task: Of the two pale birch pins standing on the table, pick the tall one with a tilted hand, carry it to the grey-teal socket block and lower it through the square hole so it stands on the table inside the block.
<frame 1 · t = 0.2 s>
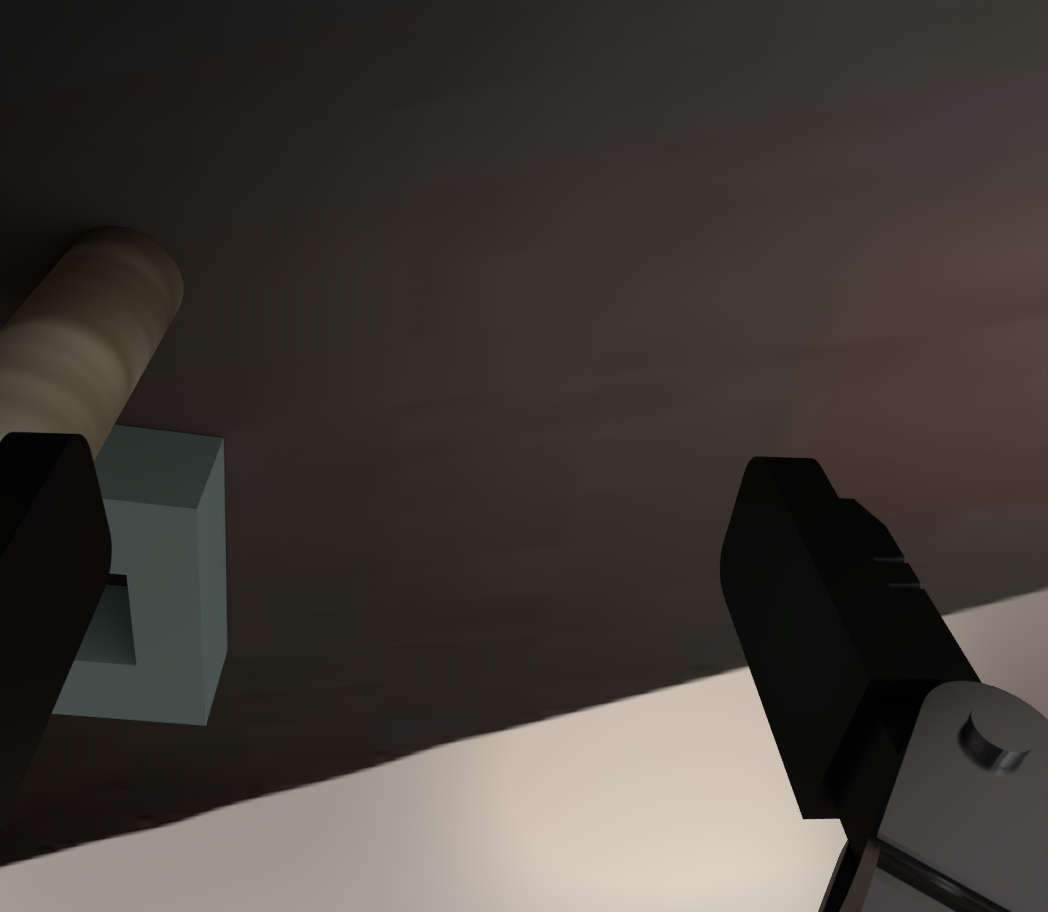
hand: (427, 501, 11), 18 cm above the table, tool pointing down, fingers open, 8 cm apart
tall pin: (126, 279, 29), on the table
socket block: (97, 540, 36), on the table
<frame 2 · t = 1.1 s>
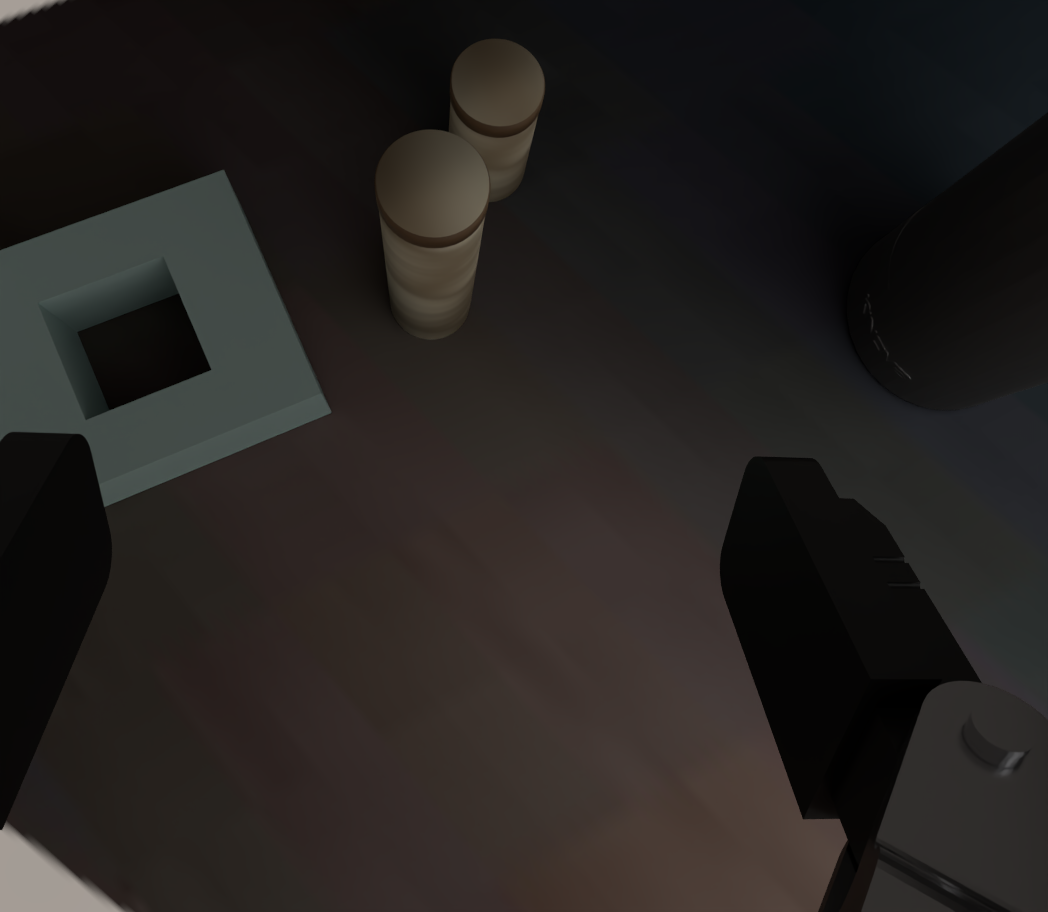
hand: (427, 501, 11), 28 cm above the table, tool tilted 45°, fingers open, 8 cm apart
short pin: (485, 165, 41), on the table
tall pin: (430, 300, 40), on the table
socket block: (155, 362, 39), on the table
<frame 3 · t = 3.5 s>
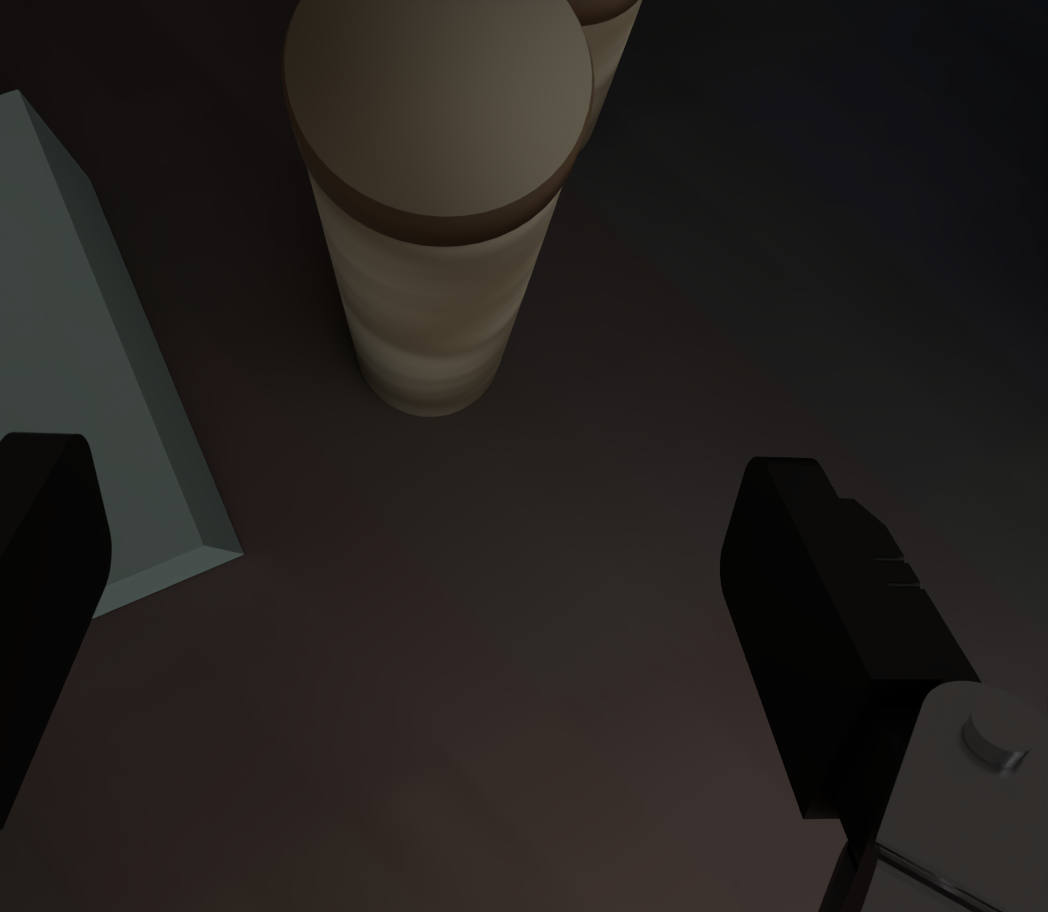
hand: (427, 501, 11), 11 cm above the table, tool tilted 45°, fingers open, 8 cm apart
short pin: (529, 106, 24), on the table
tall pin: (429, 346, 22), on the table
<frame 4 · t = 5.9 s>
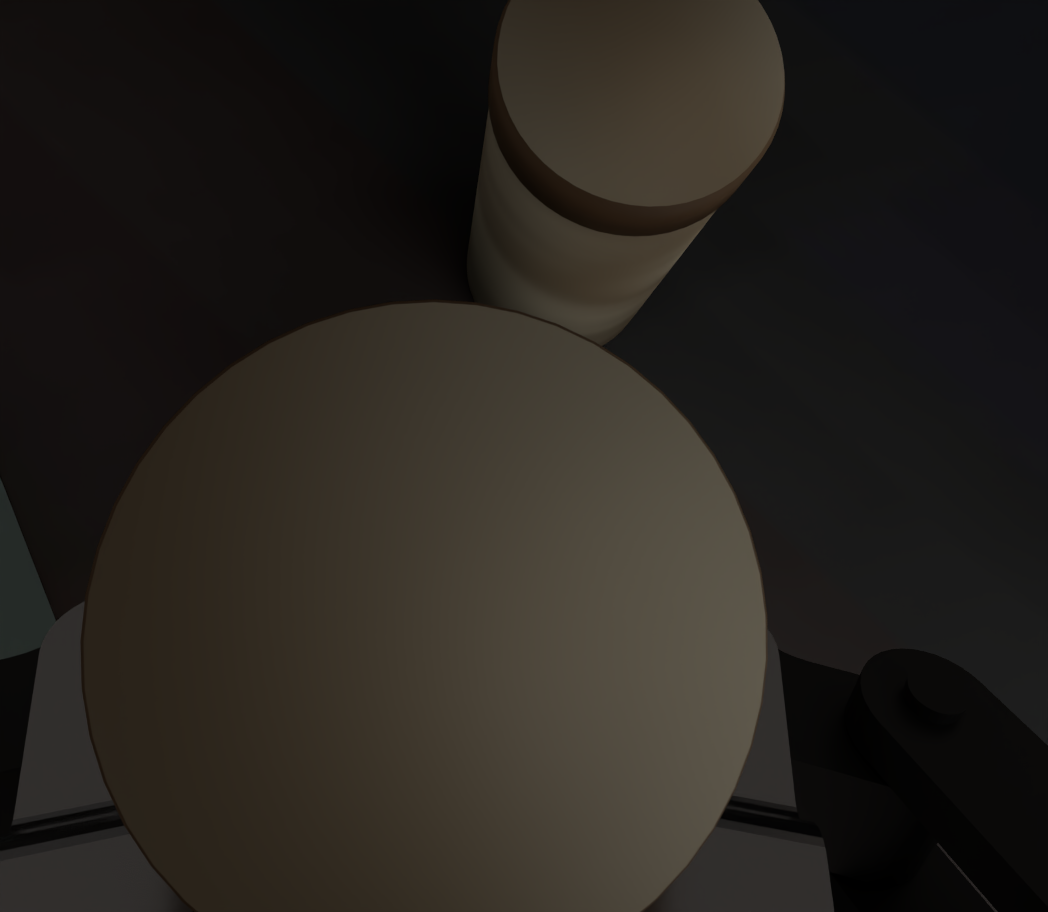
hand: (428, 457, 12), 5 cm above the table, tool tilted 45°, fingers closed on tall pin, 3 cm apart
short pin: (556, 268, 18), on the table
tall pin: (423, 604, 17), on the table, touching gripper
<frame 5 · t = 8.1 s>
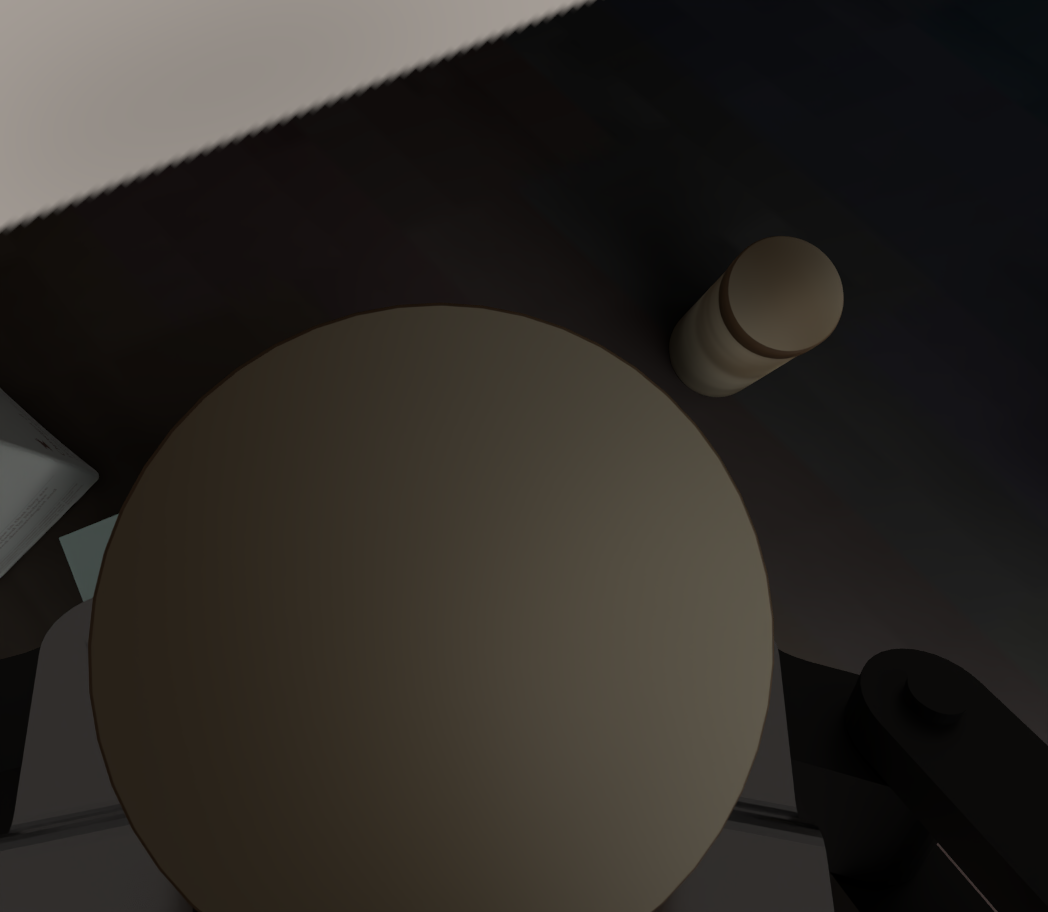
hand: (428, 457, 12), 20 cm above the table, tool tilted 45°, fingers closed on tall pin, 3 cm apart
short pin: (715, 350, 34), on the table
tall pin: (425, 605, 17), point 15 cm above the table, touching gripper
socket block: (325, 606, 31), on the table
when the fingers open (6 cm above the table, at t = 10.8 s): tall pin drops 1 cm, resting in socket block.
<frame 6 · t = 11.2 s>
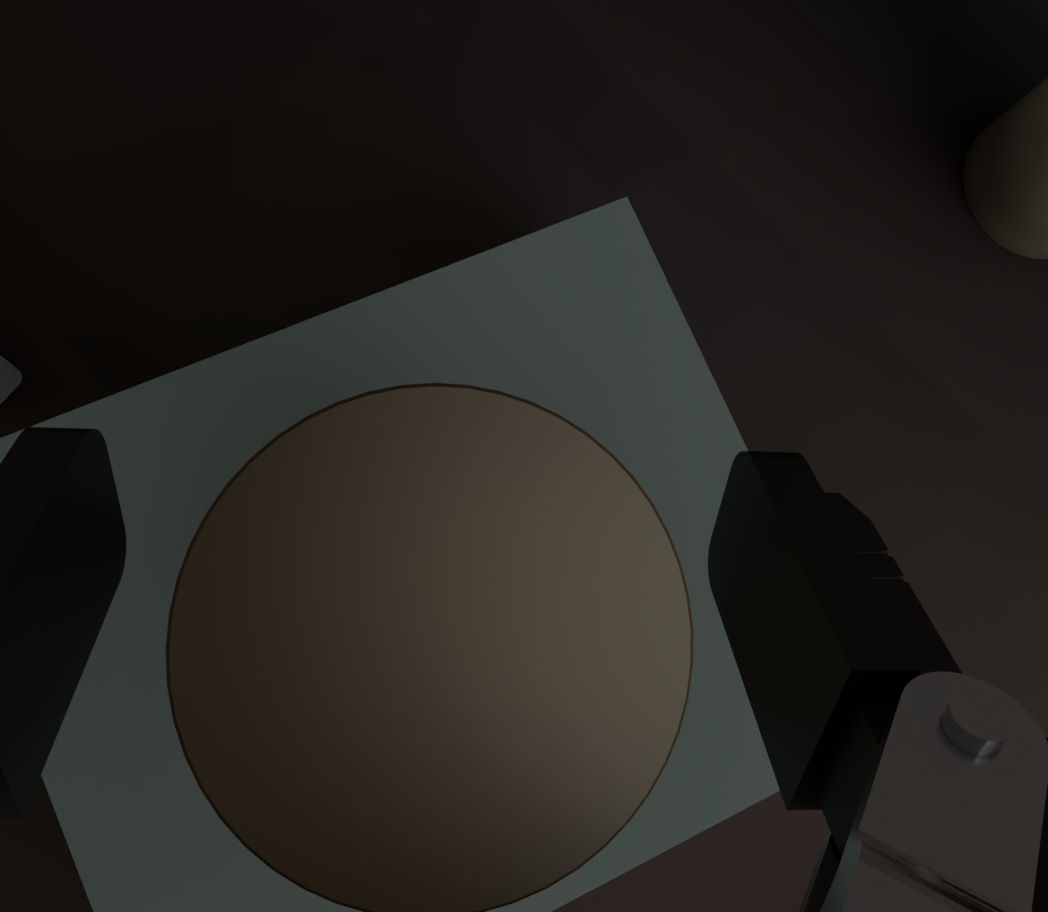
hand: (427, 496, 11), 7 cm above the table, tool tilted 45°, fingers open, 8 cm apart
short pin: (1034, 186, 21), on the table
tall pin: (424, 609, 18), resting in socket block
socket block: (421, 604, 18), on the table
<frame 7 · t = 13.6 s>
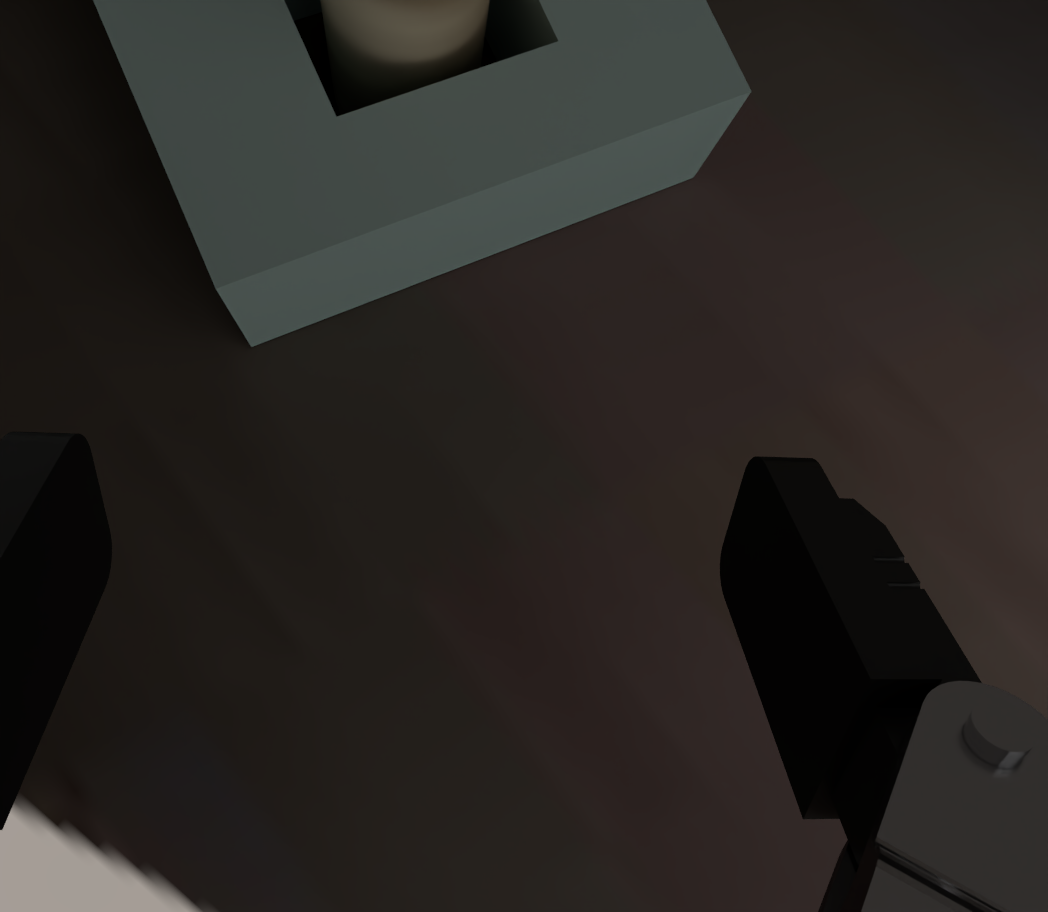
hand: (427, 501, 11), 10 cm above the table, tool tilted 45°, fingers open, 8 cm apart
tall pin: (405, 87, 23), resting in socket block
socket block: (403, 83, 23), on the table
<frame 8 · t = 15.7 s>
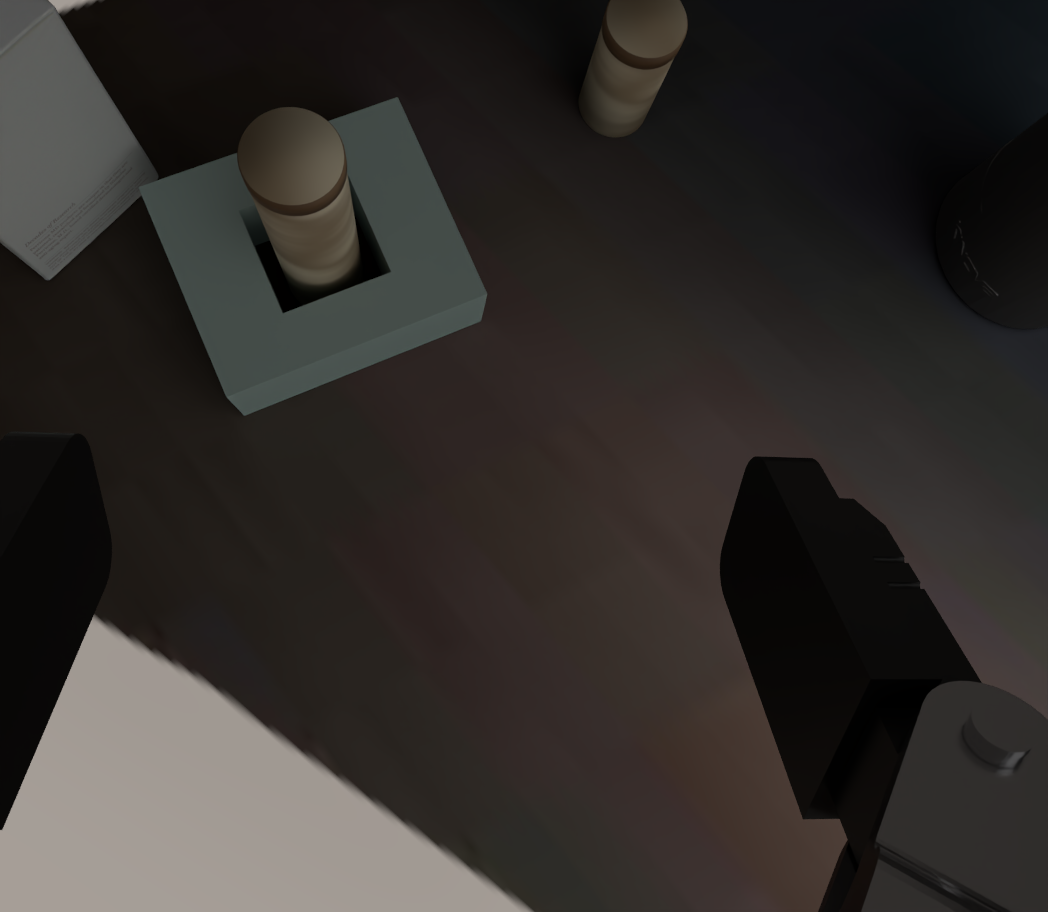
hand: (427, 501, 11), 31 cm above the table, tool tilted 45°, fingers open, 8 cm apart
short pin: (612, 104, 46), on the table
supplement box: (51, 181, 42), on the table
tall pin: (325, 276, 43), resting in socket block
socket block: (324, 273, 43), on the table
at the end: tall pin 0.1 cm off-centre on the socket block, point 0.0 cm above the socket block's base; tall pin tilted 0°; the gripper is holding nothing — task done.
